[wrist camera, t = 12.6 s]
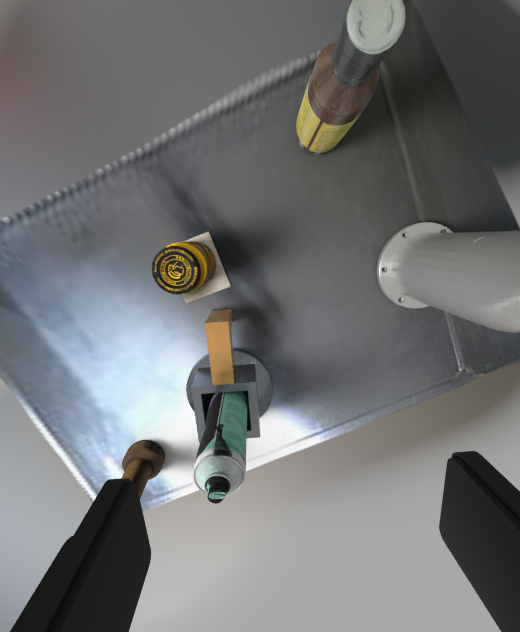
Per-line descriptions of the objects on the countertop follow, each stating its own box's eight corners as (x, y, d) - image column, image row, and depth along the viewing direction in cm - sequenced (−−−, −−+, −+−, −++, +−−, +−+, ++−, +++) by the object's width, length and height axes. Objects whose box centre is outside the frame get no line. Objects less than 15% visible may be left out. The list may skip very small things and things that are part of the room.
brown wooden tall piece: (150, 477, 52) (100, 596, 35) (120, 458, 51) (51, 572, 33) (172, 453, 51) (131, 564, 33) (141, 433, 50) (82, 538, 32)
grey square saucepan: (267, 306, 44) (270, 318, 38) (274, 421, 50) (278, 450, 43) (176, 312, 44) (162, 326, 37) (193, 427, 50) (184, 457, 43)
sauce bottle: (349, 122, 38) (448, 5, 19) (322, 166, 39) (389, 98, 20) (309, 92, 37) (372, -65, 18) (283, 138, 38) (315, 37, 19)
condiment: (208, 231, 41) (191, 228, 30) (230, 286, 43) (223, 303, 32) (162, 249, 42) (128, 254, 30) (186, 303, 44) (163, 326, 32)
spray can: (209, 380, 46) (178, 482, 27) (241, 371, 46) (234, 467, 27) (220, 409, 48) (198, 525, 28) (252, 400, 47) (251, 511, 28)
